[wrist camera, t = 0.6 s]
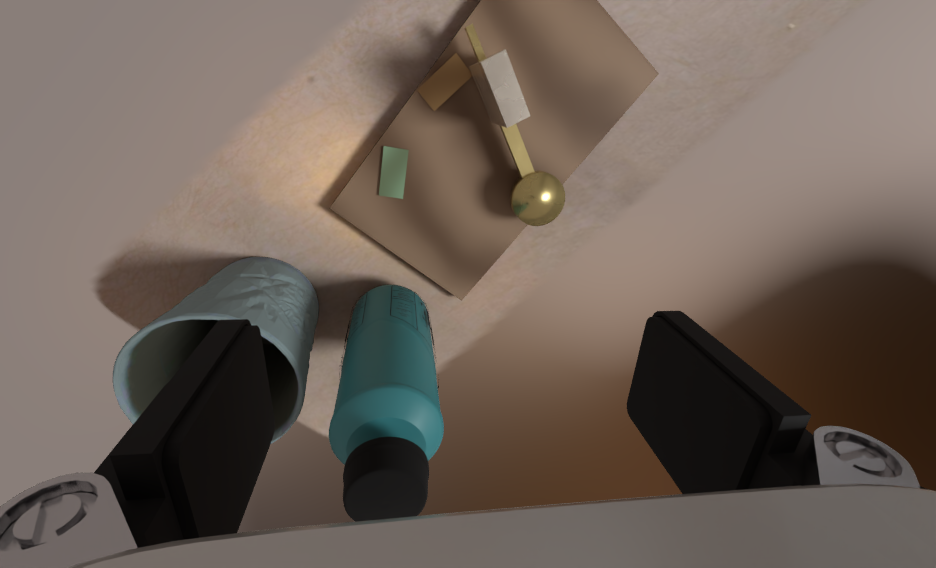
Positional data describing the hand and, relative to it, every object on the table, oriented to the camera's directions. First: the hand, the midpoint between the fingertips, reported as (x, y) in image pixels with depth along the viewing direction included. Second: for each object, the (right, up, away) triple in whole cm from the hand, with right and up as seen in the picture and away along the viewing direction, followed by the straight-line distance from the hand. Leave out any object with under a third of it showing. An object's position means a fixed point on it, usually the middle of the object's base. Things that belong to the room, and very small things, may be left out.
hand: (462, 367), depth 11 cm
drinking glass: (-16, +1, +26) cm, 31 cm away
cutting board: (+2, +13, +23) cm, 26 cm away
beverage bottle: (-6, 0, +28) cm, 28 cm away
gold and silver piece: (+3, +13, +22) cm, 25 cm away
